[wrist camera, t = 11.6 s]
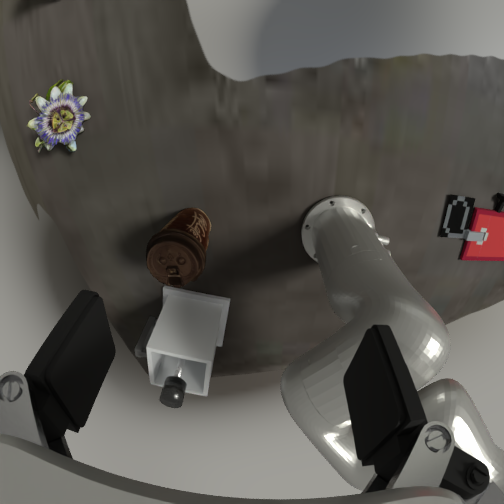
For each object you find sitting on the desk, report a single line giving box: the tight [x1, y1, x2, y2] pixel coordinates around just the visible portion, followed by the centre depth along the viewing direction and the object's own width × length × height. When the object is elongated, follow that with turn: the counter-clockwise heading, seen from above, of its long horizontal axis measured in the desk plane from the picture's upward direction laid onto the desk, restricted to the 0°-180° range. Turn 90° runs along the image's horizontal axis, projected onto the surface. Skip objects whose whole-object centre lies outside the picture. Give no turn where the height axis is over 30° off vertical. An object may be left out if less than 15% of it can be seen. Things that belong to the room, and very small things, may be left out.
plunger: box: [160, 358, 187, 408], centre depth 49 cm, size 8×8×20 cm
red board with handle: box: [440, 193, 504, 261], centre depth 45 cm, size 30×3×15 cm
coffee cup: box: [146, 208, 211, 288], centre depth 43 cm, size 9×8×13 cm
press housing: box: [135, 286, 230, 396], centre depth 52 cm, size 15×13×15 cm
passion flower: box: [27, 79, 90, 152], centre depth 36 cm, size 11×11×12 cm
